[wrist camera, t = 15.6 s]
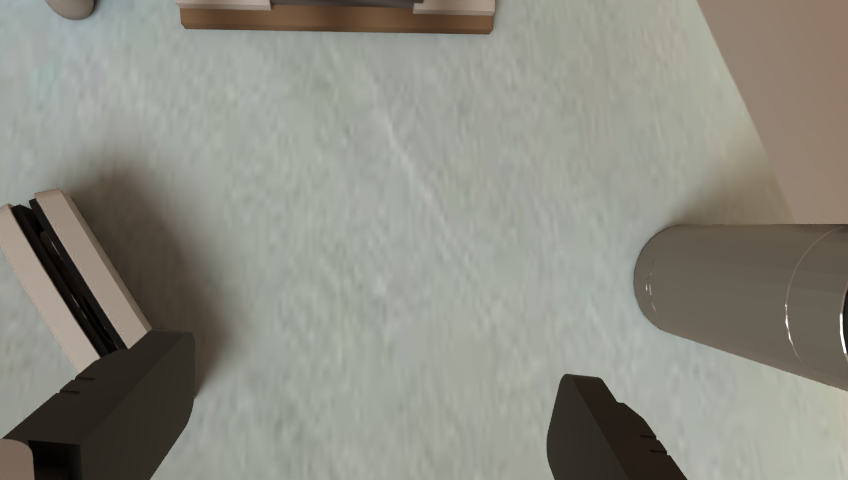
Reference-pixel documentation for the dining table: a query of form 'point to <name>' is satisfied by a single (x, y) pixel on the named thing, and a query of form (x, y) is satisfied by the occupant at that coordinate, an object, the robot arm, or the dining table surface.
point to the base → (341, 15)
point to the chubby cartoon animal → (72, 8)
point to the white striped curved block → (70, 277)
